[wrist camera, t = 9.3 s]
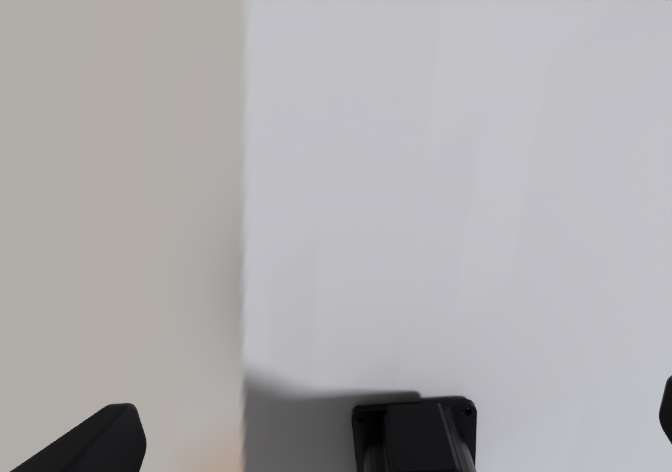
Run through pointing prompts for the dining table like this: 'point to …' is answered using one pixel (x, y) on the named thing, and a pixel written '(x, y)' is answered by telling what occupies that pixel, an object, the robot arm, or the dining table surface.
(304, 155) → the dining table surface
